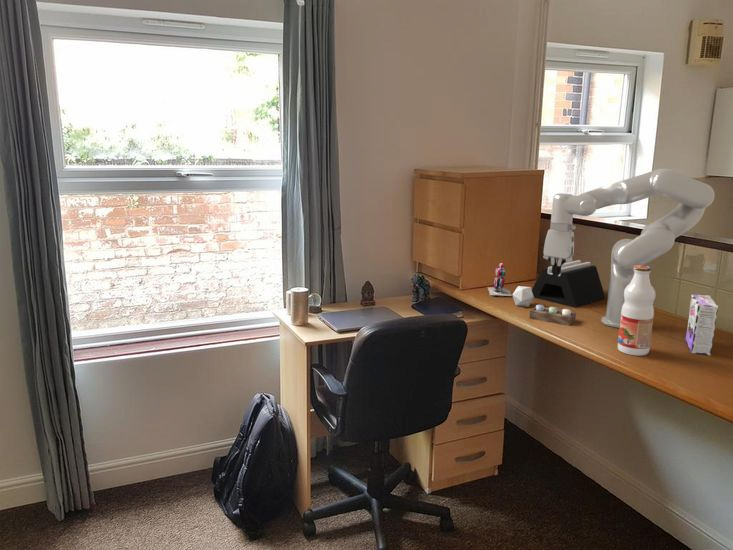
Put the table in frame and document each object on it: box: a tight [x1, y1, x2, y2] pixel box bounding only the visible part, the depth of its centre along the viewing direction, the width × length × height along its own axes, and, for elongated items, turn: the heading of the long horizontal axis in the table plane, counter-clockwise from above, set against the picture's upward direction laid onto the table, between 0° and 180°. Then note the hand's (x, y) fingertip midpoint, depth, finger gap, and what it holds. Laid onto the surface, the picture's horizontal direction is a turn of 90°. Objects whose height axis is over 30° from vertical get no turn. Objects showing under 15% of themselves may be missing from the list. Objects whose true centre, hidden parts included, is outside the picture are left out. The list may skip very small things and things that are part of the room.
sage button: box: [548, 306, 558, 314], centre depth 219 cm, size 3×3×4 cm
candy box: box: [685, 293, 719, 356], centre depth 188 cm, size 14×6×16 cm, turn 159°
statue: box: [487, 262, 513, 298], centre depth 254 cm, size 11×9×15 cm
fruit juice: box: [617, 264, 656, 357], centre depth 183 cm, size 9×9×28 cm
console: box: [529, 306, 577, 326], centre depth 219 cm, size 15×8×3 cm, turn 55°
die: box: [511, 285, 535, 308], centre depth 237 cm, size 8×9×10 cm
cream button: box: [561, 308, 572, 316], centre depth 216 cm, size 3×3×4 cm
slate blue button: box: [535, 304, 545, 311], centre depth 222 cm, size 3×3×4 cm
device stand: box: [531, 259, 606, 309], centre depth 248 cm, size 22×22×15 cm
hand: (555, 275), depth 218 cm, fingers closed
